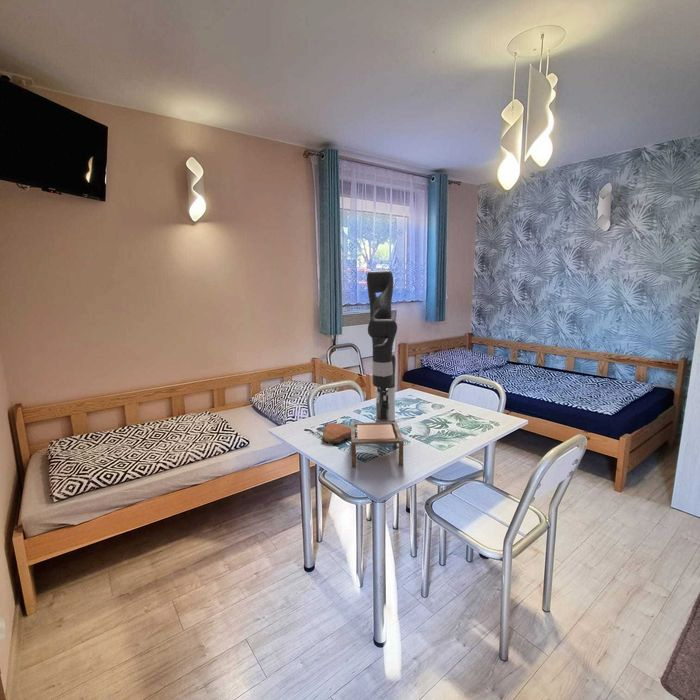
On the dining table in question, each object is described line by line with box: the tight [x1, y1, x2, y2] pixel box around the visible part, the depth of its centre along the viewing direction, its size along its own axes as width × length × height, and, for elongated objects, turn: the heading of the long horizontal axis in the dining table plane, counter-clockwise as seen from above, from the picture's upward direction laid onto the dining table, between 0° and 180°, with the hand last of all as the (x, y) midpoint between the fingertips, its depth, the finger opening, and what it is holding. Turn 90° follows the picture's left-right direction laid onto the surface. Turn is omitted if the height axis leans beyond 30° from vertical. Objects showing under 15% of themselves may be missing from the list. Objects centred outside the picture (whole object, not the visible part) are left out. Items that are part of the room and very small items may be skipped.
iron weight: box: [375, 402, 389, 421], centre depth 145 cm, size 5×5×6 cm
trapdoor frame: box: [350, 421, 404, 468], centre depth 151 cm, size 19×19×10 cm
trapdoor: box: [356, 424, 396, 440], centre depth 150 cm, size 14×14×1 cm
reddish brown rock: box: [322, 422, 358, 444], centre depth 170 cm, size 15×6×15 cm
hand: (382, 416), depth 145 cm, fingers closed on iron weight, 4 cm apart
